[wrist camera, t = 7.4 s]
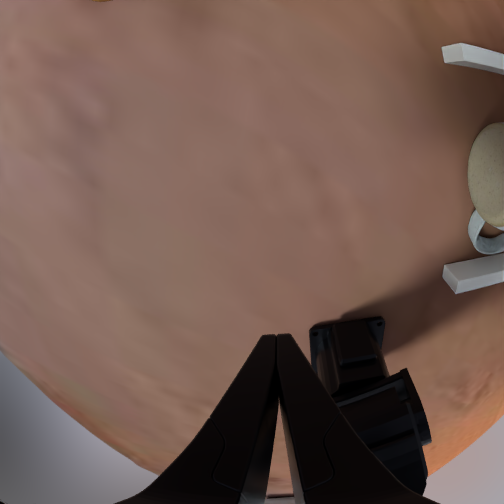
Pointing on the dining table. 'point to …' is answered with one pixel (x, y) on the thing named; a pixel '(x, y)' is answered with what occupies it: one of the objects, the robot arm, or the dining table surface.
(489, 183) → the ceramic mug
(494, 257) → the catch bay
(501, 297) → the dining table surface
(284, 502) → the square plate
